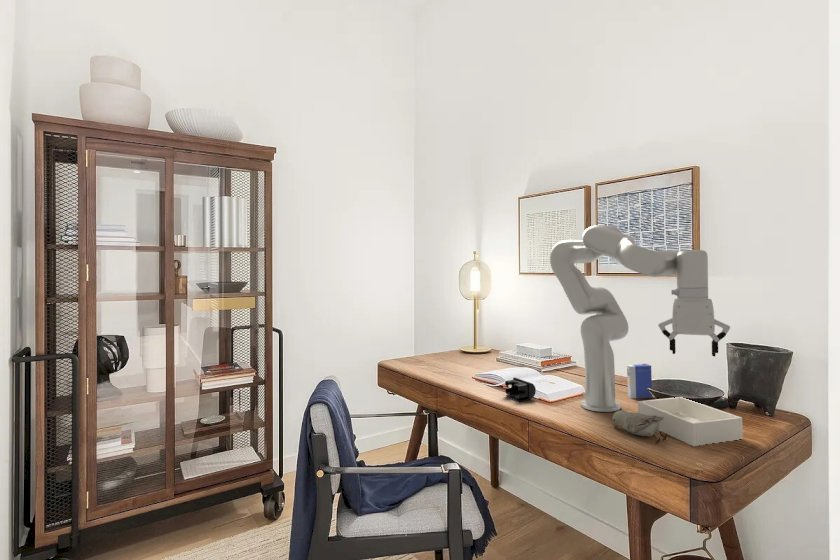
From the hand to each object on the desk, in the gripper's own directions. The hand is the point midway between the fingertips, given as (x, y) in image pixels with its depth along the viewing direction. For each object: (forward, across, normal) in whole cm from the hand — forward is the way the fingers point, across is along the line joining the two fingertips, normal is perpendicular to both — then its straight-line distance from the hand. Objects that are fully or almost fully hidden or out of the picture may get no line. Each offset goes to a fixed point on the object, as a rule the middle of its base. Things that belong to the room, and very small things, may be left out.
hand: (693, 354), depth 128 cm
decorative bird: (+23, -14, -8) cm, 28 cm away
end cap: (+23, -56, +15) cm, 62 cm away
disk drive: (+23, +2, +32) cm, 39 cm away
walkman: (+23, -17, +33) cm, 44 cm away
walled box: (+23, -2, +3) cm, 23 cm away
